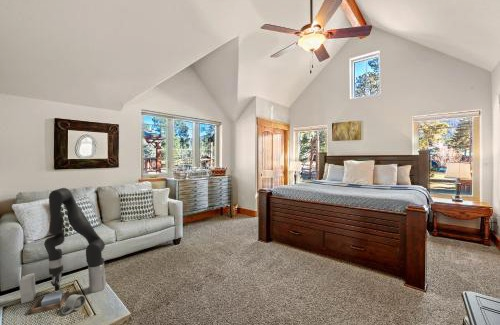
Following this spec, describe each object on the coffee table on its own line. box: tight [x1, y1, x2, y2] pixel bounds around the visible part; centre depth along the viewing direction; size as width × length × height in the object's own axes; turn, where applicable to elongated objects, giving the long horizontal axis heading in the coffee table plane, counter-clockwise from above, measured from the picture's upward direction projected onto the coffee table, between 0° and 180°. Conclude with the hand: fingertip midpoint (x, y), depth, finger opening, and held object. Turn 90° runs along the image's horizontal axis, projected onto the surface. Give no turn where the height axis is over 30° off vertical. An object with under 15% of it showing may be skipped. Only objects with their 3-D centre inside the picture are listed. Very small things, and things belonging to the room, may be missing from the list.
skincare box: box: [18, 272, 37, 304], centre depth 150 cm, size 8×6×15 cm
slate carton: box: [40, 290, 64, 307], centre depth 145 cm, size 9×8×5 cm
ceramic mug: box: [61, 294, 86, 316], centre depth 139 cm, size 11×8×8 cm
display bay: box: [28, 291, 69, 315], centre depth 144 cm, size 15×13×2 cm
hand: (57, 290), depth 157 cm, fingers closed
